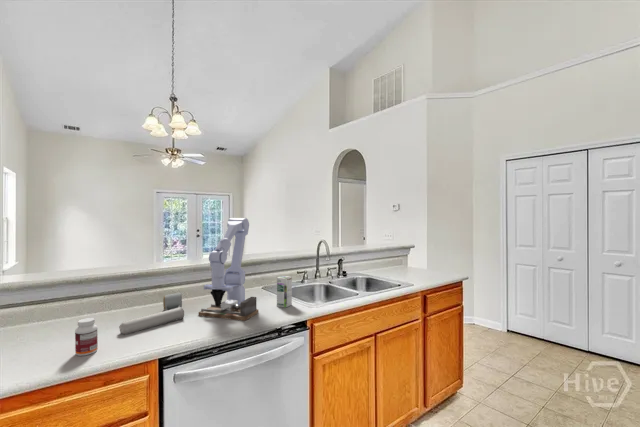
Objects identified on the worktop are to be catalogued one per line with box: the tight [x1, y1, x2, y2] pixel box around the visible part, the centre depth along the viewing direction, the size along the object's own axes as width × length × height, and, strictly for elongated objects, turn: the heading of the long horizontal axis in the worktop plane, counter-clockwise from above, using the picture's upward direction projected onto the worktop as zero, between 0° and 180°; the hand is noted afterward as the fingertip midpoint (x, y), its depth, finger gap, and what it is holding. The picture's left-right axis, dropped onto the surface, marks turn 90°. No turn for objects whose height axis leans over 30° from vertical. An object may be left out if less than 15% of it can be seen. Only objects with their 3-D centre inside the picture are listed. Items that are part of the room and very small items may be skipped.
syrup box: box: [276, 275, 293, 309], centre depth 166 cm, size 6×6×14 cm
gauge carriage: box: [221, 299, 240, 312], centre depth 151 cm, size 8×9×4 cm
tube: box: [118, 307, 185, 335], centre depth 138 cm, size 5×5×25 cm
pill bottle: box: [74, 317, 99, 357], centre depth 112 cm, size 6×6×11 cm
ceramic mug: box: [162, 292, 183, 311], centre depth 159 cm, size 11×8×8 cm
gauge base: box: [197, 296, 259, 322], centre depth 153 cm, size 24×12×8 cm, turn 73°
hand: (218, 305), depth 155 cm, fingers closed
